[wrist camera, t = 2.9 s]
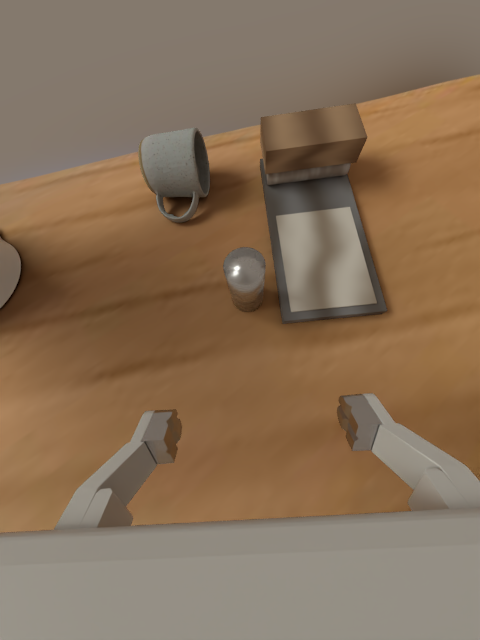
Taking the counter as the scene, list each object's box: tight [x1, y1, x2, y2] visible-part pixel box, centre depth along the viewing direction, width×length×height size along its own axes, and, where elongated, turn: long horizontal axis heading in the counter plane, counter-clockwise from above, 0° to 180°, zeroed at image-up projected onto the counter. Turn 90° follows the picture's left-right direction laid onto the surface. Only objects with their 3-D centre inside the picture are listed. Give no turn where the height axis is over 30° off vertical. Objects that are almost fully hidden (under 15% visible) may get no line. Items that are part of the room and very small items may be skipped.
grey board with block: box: [260, 104, 387, 324], centre depth 27 cm, size 12×26×7 cm, turn 5°
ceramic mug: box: [138, 128, 210, 222], centre depth 30 cm, size 11×8×8 cm
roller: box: [223, 247, 266, 312], centre depth 24 cm, size 4×4×8 cm
